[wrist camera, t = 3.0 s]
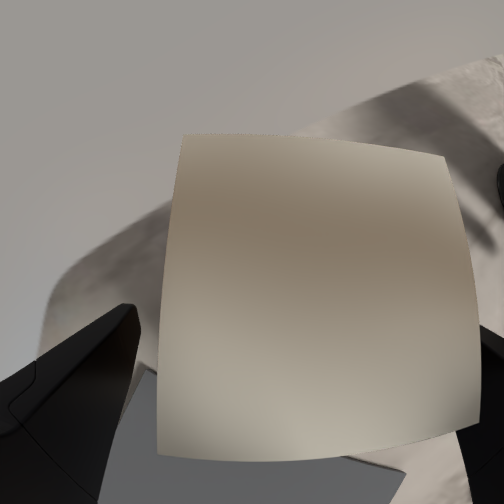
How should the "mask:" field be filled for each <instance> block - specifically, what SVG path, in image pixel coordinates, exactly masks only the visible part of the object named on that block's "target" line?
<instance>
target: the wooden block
mask: <svg viewBox="0 0 504 504" xmlns="http://www.w3.org/2000/svg"><path fill="white" fill-rule="evenodd" d="M480 399H481V344H480V327H479V315H478V305H477V296H476V288H475V281H474V275H473V268H472V263H471V257H470V252H469V247H468V242H467V237H466V232H465V228H464V224H463V220H462V216H461V212H460V208H459V204H458V200H457V197H456V193H455V190H454V186H453V183H452V180H451V177H450V173H449V170H448V167H447V164H446V161H445V159H444V156H439V155H434V154H429V153H423V152H418V151H412V150H407V149H401V148H395V147H388V146H381V145H374V144H367V143H359V142H351V141H342V140H332V139H321V138H309V137H295V136H278V135H252V134H192V135H191V134H190V135H183V140H182V146H181V151H180V156H179V162H178V168H177V175H176V181H175V187H174V193H173V200H172V207H171V214H170V222H169V230H168V238H167V246H166V255H165V265H164V275H163V286H162V297H161V310H160V325H159V343H158V366H157V454H158V455H165V456H173V457H181V458H191V459H202V460H217V461H242V462H271V461H296V460H310V459H321V458H331V457H339V456H347V455H354V454H361V453H367V452H372V451H378V450H383V449H388V448H393V447H398V446H402V445H406V444H411V443H415V442H419V441H423V440H426V439H430V438H434V437H437V436H440V435H444V434H447V433H450V432H453V431H456V430H459V429H462V428H465V427H468V426H471V425H474V424H477V423H479V416H480Z"/></svg>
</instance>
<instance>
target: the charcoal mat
mask: <svg viewBox="0 0 504 504" xmlns="http://www.w3.org/2000/svg"><path fill="white" fill-rule="evenodd" d="M405 476H406V473H405V472H403V471H400V470H395V469H391V468H386V467H382V466H378V465H374V464H370V463H366V462H363V461H359V460H355V459H352V458H349V457H345V456H339V457H331V458H321V459H310V460H296V461H271V462H242V461H217V460H202V459H191V458H181V457H173V456H165V455H158V454H157V374H156V373H155V372H153V371H151V370H150V369H146V370H145V372H144V374H143V376H142V378H141V380H140V382H139V384H138V386H137V388H136V390H135V392H134V394H133V396H132V398H131V400H130V402H129V404H128V406H127V408H126V410H125V412H124V414H123V417H122V419H121V421H120V423H119V425H118V427H117V429H116V432H115V436H114V439H113V443H112V447H111V450H110V454H109V458H108V462H107V466H106V470H105V474H104V478H103V482H102V486H101V491H100V495H99V499H98V501H97V502H98V504H389V503H390V502H391V500H392V498H393V497H394V495H395V493H396V492H397V490H398V488H399V486H400V485H401V483H402V481H403V479H404V478H405Z"/></svg>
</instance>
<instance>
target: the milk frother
mask: <svg viewBox="0 0 504 504" xmlns="http://www.w3.org/2000/svg"><path fill="white" fill-rule="evenodd" d="M497 181H498V189H499V193H500V197H501V200H502V203H503V205H504V164H502V165H501V167H500V168H499V171H498V176H497Z"/></svg>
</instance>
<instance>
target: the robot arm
mask: <svg viewBox="0 0 504 504" xmlns="http://www.w3.org/2000/svg"><path fill="white" fill-rule="evenodd" d="M479 327H480V344H481V399H480V416H479V423H477V424H474V425H471V426H468V427H465V428H462V429H459V430H456V435H457V438H458V442H459V445H460V449H461V453H462V457H463V460H464V464H465V468H466V473H467V477H468V482H469V487H470V491H471V496H472V502H473V504H504V338H502V337H501V336H499V335H497V334H496V333H494V332H492V331H490V330H489V329H487V328H485V327H483V326H481V325H480V324H479ZM140 335H141V326H140V321H139V317H138V312H137V308H136V306H135V305H134V304H125V303H122V304H120V305H118V306H117V307H115V308H114V309H112V310H111V311H109V312H107V313H106V314H104V315H103V316H101V317H100V318H98V319H97V320H95V321H94V322H92V323H90V324H89V325H87V326H86V327H84V328H83V329H81V330H80V331H78V332H77V333H75V334H74V335H72V336H71V337H69V338H68V339H66V340H64V341H63V342H61V343H60V344H58V345H57V346H55V347H54V348H52V349H51V350H49V351H48V352H46V353H45V354H43V355H42V356H40V357H39V358H37V359H36V361H33V362H31V363H30V364H29V365H27V366H26V367H24V368H22V369H21V370H19V371H18V372H16V373H15V374H13V375H12V376H10V377H8V378H7V379H5V380H3V381H1V382H0V504H98V502H97V501H98V499H99V495H100V491H101V486H102V482H103V478H104V474H105V470H106V466H107V462H108V458H109V454H110V450H111V447H112V443H113V439H114V436H115V432H116V429H117V425H118V422H119V418H120V415H121V412H122V408H123V405H124V402H125V398H126V395H127V392H128V389H129V385H130V382H131V379H132V374H133V370H134V364H135V359H136V354H137V350H138V345H139V340H140Z"/></svg>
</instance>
